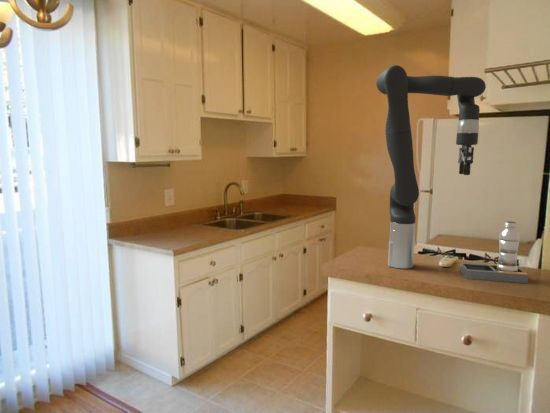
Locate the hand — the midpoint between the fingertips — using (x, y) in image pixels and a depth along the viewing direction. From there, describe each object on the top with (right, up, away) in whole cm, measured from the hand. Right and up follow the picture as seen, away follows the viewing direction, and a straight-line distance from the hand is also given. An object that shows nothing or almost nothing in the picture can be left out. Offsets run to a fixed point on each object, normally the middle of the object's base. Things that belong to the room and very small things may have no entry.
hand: (464, 174), depth 153 cm
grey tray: (+4, -38, -12) cm, 40 cm away
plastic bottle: (+9, -38, -13) cm, 41 cm away
